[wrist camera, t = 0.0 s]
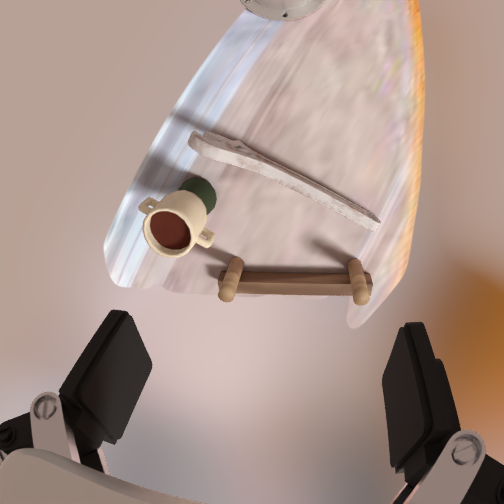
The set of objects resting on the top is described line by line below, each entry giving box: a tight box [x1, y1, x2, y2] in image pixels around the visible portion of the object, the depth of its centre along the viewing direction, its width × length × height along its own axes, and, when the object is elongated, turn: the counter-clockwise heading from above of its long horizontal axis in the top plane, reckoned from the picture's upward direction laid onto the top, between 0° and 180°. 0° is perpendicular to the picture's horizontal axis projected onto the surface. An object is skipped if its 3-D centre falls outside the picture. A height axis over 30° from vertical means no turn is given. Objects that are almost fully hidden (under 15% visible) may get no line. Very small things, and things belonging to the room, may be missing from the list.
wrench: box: [188, 131, 381, 231], centre depth 41 cm, size 8×2×30 cm
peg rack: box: [218, 257, 373, 305], centre depth 49 cm, size 5×26×9 cm, turn 94°
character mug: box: [139, 178, 217, 258], centre depth 42 cm, size 11×7×13 cm, turn 61°
